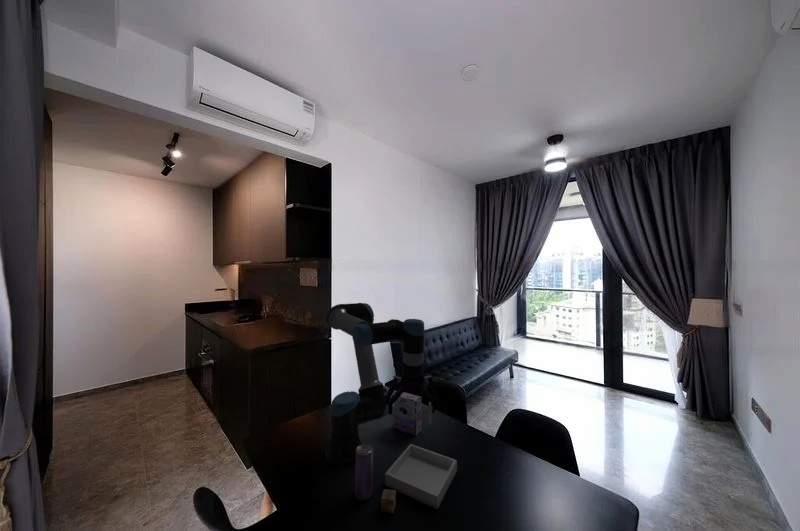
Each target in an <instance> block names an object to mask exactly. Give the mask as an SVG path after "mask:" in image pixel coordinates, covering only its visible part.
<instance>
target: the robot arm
mask: <svg viewBox="0 0 800 531" xmlns="http://www.w3.org/2000/svg"><path fill="white" fill-rule="evenodd" d="M374 317H375V314H374V310H373V308H372V307H371V305H370V304H368V303H367V302H365V303H364V302H357V303H354V302H353V303H337V304H336V305H334V306H332V307H331V308H329V309H328V311H327V312H326V315H325V321H326V324H327V325H328V326H329V327H330V328H331V329H333V330H340V331H341V332H344V333H345V334H347V335H349V336H350V337H352V341H353V347H354V353H355V359H356V364H357V370H358V376H359V383H360V386H359V388H358V389H357V390H358V391H357V392H356V391H354V390H353V391H350V390H349V391H344V392H341V393H339V394H337V395H336V396H335V397H334V398H332V400H331V405H330V410H329V412H330V431H329V434H330V435H329V439H328V442H327V445H326V447H325V459H326V461H327V462H328V463H330V464H332V465H335V466H346V465H351V464H353V463H355V459H356V449H357V447H358V446H360V445H362V444H363V443H362V441H361V438H360V437H361V436H360V433H359V426H361V425H364V424H366V423H370V422H374V421H376V420H377V421H378V420H381V419H382V418H385V417H387V416H388V415H389V416H390V415H391V416H390V417H391V418H390V419H391V421H390V422H391V426H392V425H394V410H395V406H394V403H395V402H396V400H397V399H398V398H399V397H400V396H401V395H402V393H403V392H405V393H406V390H408V391H413V390H414V391H418V390H420V391H421V393H423V394H424V396H425V397H426V398H427V400H428V422H429V424H430V425H433V414H435V413H436V405H437V404H440V403H441V398H440V396H439V394H438V393H437V391H436V388H435V386H434V384H433V378H432V376H431V375H430V374H428V375H427V376H424V366H425V365H424V362H425V361H424V359H425V358H424V357H425V356H424V355H425V354H424V353H425V352H424V351H425V334H426V332H425V331H426V330H425V322H424V321H423V320H421V319H419V318H418V319H417V318H408V319H406V318H405V319H404V321H402V320H399V319H394V318H392V319H389V320H387V321H384V322H374V321H375V318H374ZM391 342H399V343H402V344H403V345H402V362H403V363H402V373H401V374H402V376H397V375H396V374H395V375H393V380H392V383H391V384H390V387H389V388H387V387H385V386H384V383H383V382H381V381H380V378H379V373H378V369H377V368H378V367H377V363H376V357H375V352H374V348H373V345H377V344H382V343H383V344H384V343H391ZM400 382H401V383H402V384H400V387H399V388H398V389H397V390H396V388H397V385H398V384H399V383H400ZM424 382H426V383H427V384H428V385H429V387H430V389H431V392H432V393H433V396H434V398H433V396H432V395H431V394H430V392H428V390H427V389H426V387H425V386H424V385H423V384H424ZM395 390H396V391H395ZM394 391H395V392H396V393H395V392H394ZM394 393H395V394H394ZM392 394H394V395H393V396H392Z"/></svg>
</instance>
